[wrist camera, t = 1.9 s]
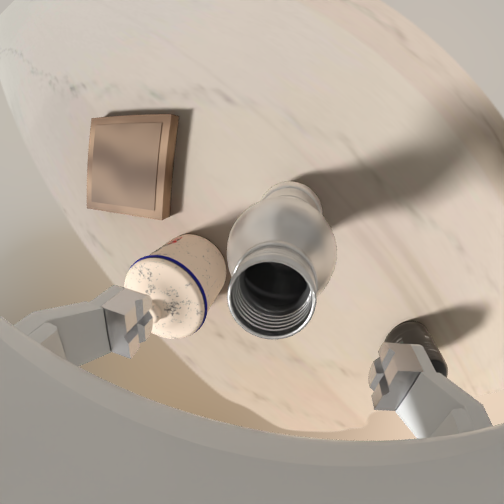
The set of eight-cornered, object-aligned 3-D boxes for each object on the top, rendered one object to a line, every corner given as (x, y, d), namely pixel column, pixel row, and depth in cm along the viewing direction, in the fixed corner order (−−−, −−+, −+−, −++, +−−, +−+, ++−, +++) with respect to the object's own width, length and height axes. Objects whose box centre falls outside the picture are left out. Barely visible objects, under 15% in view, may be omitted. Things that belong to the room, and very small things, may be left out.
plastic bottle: (260, 238, 31) (200, 356, 12) (261, 178, 29) (187, 213, 10) (318, 242, 30) (337, 370, 11) (322, 180, 28) (364, 223, 9)
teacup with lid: (178, 217, 32) (122, 247, 21) (243, 258, 32) (213, 310, 21) (145, 289, 36) (96, 334, 25) (199, 326, 36) (164, 383, 26)
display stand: (101, 119, 29) (91, 118, 27) (179, 116, 28) (171, 114, 26) (96, 205, 33) (86, 208, 31) (169, 216, 32) (161, 220, 30)
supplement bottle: (435, 331, 31) (468, 389, 20) (404, 365, 33) (425, 426, 22) (405, 311, 31) (437, 373, 19) (372, 348, 33) (389, 415, 22)
